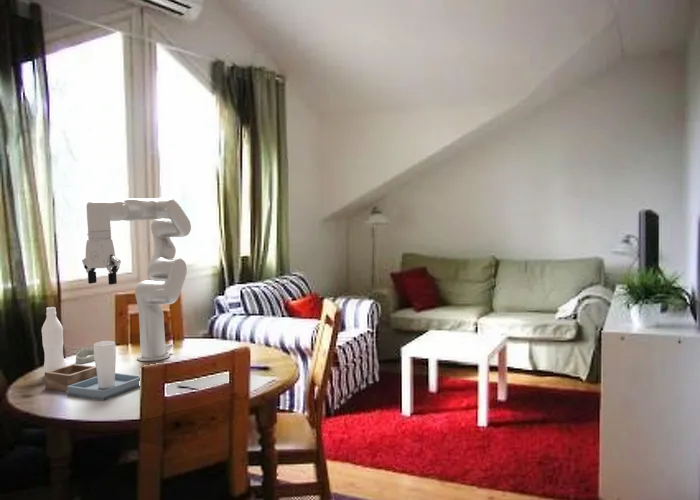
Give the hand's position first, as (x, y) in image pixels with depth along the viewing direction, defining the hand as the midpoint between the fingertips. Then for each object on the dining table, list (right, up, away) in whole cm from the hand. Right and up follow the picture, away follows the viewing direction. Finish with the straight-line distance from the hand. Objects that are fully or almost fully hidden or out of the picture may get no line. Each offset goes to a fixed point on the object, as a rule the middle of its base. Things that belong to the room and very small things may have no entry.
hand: (102, 283), depth 220 cm
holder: (-8, -35, -7) cm, 36 cm away
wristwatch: (-18, -33, +28) cm, 47 cm away
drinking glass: (+7, -34, -13) cm, 37 cm away
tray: (+7, -35, -13) cm, 38 cm away
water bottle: (-21, -34, +8) cm, 41 cm away
